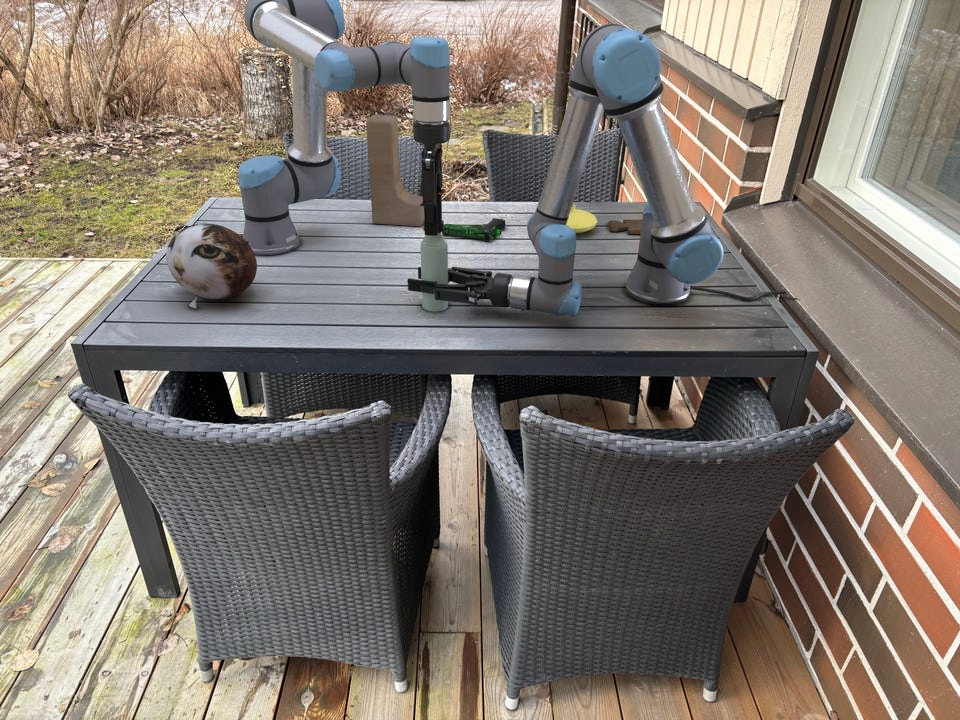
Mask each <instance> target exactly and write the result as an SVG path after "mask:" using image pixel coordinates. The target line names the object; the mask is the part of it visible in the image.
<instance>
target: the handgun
mask: <svg viewBox="0 0 960 720" xmlns="http://www.w3.org/2000/svg"><path fill="white" fill-rule="evenodd" d="M505 228H506V220H505V219H503V218H497V217H492V219H491V220H490V221H489V222H488V223H483V224H482V225H479V224H472V225H459V224H453V223H444V231H443V232H441V235H446V236H454V237H462V238H469V239H470V238H471V239H474V240H479V241H484V242H491V241H492V240H494V239H495V238H497V237H500V236H502V230H504V229H505Z"/></svg>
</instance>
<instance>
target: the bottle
mask: <svg viewBox="0 0 960 720" xmlns="http://www.w3.org/2000/svg"><path fill="white" fill-rule="evenodd" d="M448 245H449V244H448V242H447V240H446V239H445V238H444V237H443V234H442V232H441V233H438V235H437V236H430V235H424V237H423V239H422V241H421V242H420V245H419V247H420V250H419V251H420V267H421V279H420V280H425V281H432V282H435V281H437V284H449V283H448V269H449V254H448V253H449V252H448V251H449V250H448V249H449V246H448ZM421 307H422V308H423V309H424V310H425V311H428V312H442V311H445V310H447V309H448V308H449V301H441V300H435V295H434V294H429V293H422V292H421Z"/></svg>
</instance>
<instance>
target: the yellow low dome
mask: <svg viewBox="0 0 960 720" xmlns="http://www.w3.org/2000/svg"><path fill="white" fill-rule="evenodd" d="M597 223H598V219H597V217H596V215H595V214H593V213H591V212H589V211H587V210H584V209H578V208H576V205H575V204H573V205H572V208H571V211H570V214H569V218H568V221H567V224H566V226H568V227H570V228H572V229H574V231H575V233H576V234H580V233H584V232H585V233H586V232H587V231H591V230H592V229H594V228H596V226H597Z"/></svg>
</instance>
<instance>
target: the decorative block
mask: <svg viewBox="0 0 960 720" xmlns="http://www.w3.org/2000/svg"><path fill="white" fill-rule="evenodd" d="M398 118H399V117H397V116H396V115H390V114H389V115H387V114H386V115H385V114H372V115H371V116H370V117H368V118H367V119H366V120H365V129H366V142H367V145H366V146H367V158H368V172H369V190H370V203H371V219H372V220H371V221H372V223H373V224H376V225H377V224H379V225H391V226H392V225H393V226H410V227H423V221H424V207H421V206H420V204H422V202H423V196H421V195H417V194H412V193H410V192H409V191H408V190H406V189H405V186H404V184H403V182H402V180H401V163H400V161H401V160H400V138H399V120H398Z"/></svg>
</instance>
